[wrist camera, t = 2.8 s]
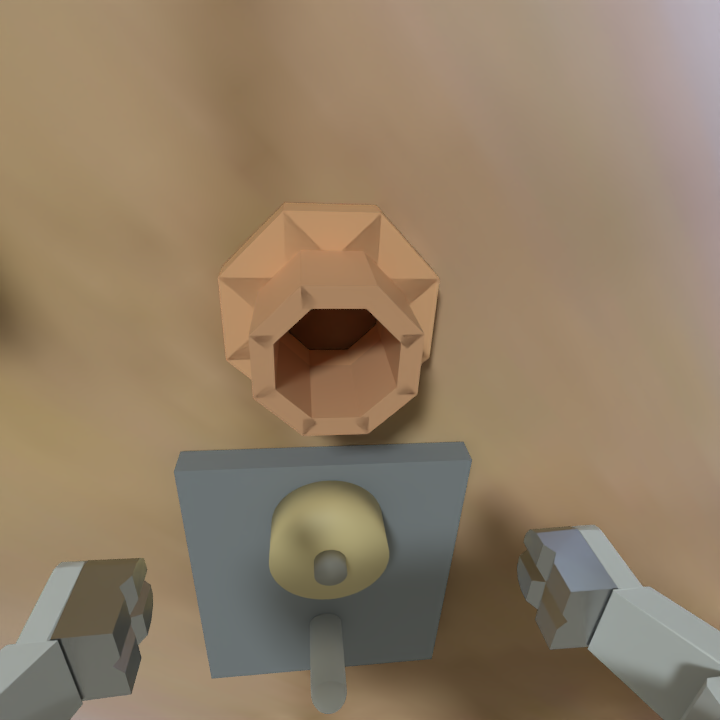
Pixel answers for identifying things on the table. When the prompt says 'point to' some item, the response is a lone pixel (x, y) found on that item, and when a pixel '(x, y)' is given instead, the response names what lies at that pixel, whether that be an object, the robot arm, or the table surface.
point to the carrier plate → (245, 549)
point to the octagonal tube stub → (328, 291)
